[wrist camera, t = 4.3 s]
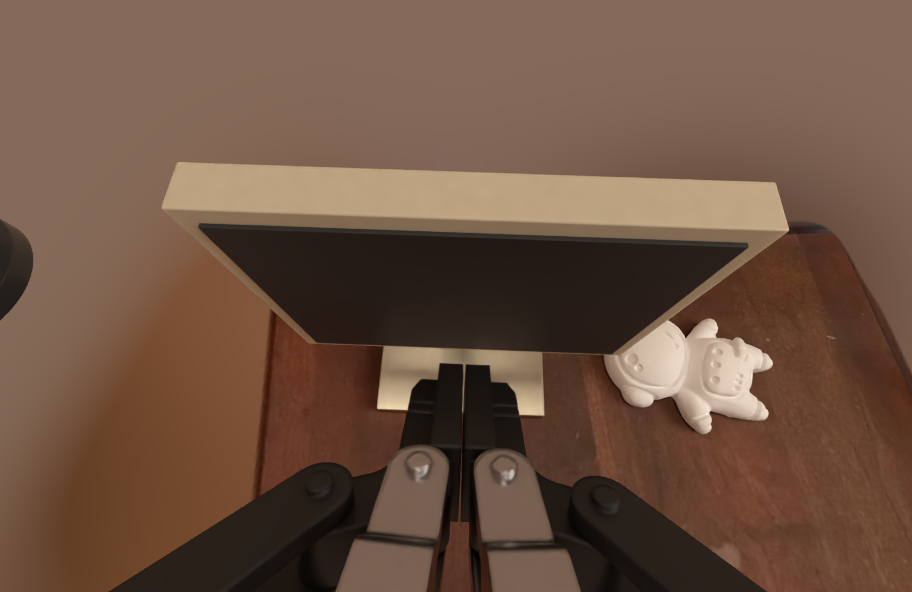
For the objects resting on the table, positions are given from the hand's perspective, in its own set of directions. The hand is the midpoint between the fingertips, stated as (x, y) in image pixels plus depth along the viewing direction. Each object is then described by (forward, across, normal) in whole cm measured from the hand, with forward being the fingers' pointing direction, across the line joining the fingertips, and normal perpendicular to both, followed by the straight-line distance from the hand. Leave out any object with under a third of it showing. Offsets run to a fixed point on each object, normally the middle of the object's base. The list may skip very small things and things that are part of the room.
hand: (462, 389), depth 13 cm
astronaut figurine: (+18, -17, +10) cm, 27 cm away
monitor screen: (+10, 0, +4) cm, 11 cm away
